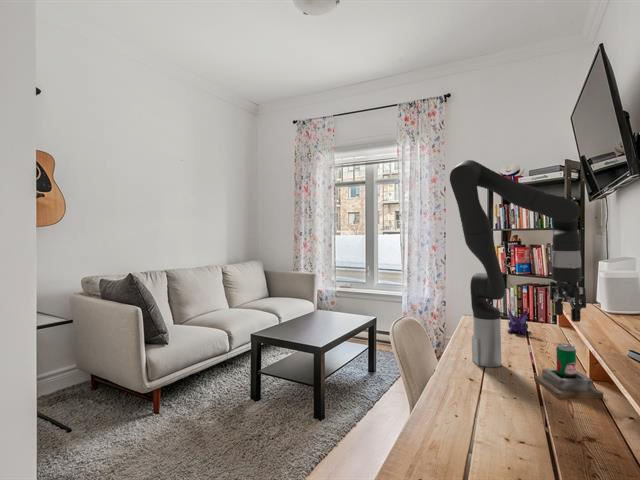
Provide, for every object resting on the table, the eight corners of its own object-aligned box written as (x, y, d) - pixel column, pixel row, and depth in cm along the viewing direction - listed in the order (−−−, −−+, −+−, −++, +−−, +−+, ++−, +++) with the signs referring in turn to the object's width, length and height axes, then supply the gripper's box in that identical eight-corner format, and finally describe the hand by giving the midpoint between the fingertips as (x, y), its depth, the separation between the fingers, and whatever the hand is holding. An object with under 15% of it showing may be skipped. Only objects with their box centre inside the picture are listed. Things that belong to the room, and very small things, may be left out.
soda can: (567, 388, 112) (567, 348, 112) (552, 381, 117) (552, 343, 116) (580, 385, 113) (580, 346, 113) (565, 379, 118) (564, 342, 118)
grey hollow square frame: (556, 398, 109) (556, 382, 109) (534, 380, 122) (534, 366, 122) (603, 398, 108) (603, 382, 108) (575, 380, 121) (575, 366, 121)
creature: (504, 336, 173) (504, 309, 173) (509, 327, 188) (509, 302, 188) (526, 339, 168) (526, 311, 168) (529, 329, 183) (529, 304, 183)
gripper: (541, 263, 122) (541, 313, 122) (567, 268, 108) (568, 324, 108) (564, 263, 122) (565, 312, 122) (594, 267, 107) (595, 323, 108)
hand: (567, 318), depth 115 cm, fingers open, 8 cm apart
